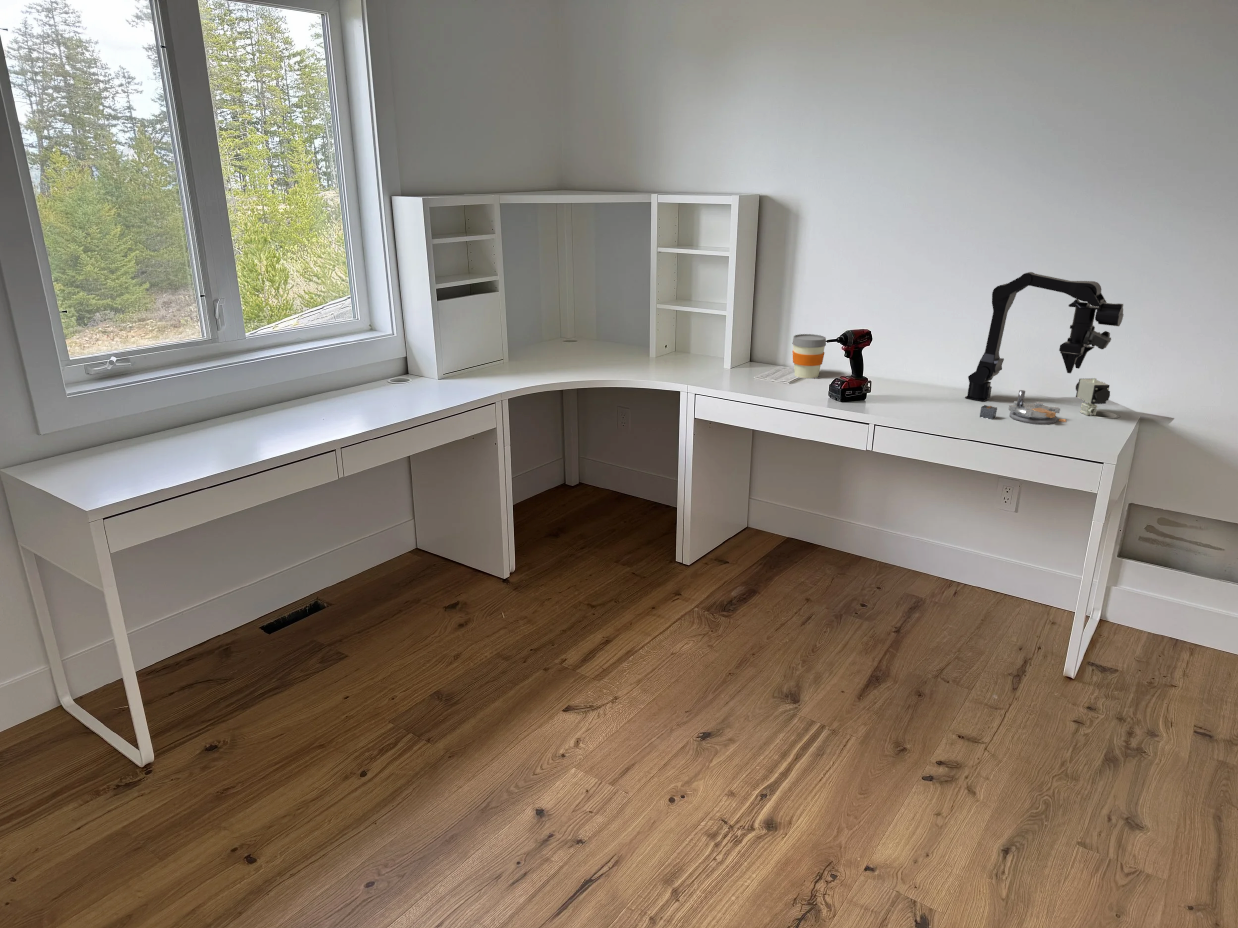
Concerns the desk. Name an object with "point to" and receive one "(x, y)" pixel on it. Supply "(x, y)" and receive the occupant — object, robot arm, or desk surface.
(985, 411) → the banded grey cube
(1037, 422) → the plinth
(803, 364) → the reusable coffee cup
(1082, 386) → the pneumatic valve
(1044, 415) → the sprocket
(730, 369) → the desk surface
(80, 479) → the desk surface
